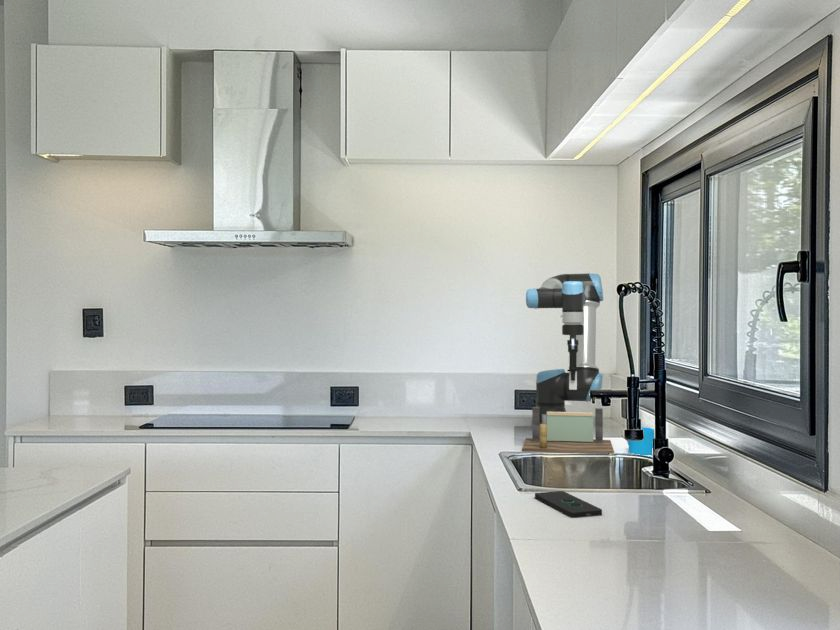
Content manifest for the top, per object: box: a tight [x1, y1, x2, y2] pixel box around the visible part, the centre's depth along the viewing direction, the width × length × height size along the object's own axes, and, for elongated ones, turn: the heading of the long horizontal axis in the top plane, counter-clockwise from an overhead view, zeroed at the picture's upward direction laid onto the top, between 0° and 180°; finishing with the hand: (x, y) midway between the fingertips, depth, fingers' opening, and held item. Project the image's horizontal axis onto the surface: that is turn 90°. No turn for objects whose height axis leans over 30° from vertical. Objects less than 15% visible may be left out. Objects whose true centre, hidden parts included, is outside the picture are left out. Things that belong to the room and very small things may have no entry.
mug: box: [626, 426, 655, 456], centre depth 249 cm, size 12×8×8 cm
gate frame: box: [521, 406, 615, 454], centre depth 261 cm, size 23×30×13 cm
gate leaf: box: [542, 411, 594, 442], centre depth 265 cm, size 2×18×10 cm, turn 79°
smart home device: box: [534, 490, 603, 518], centre depth 179 cm, size 8×2×20 cm
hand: (573, 389), depth 271 cm, fingers closed
